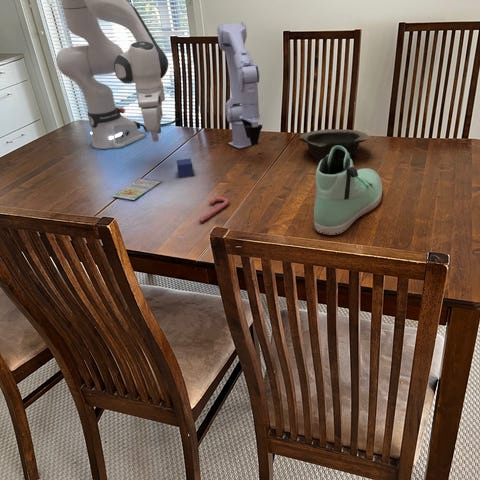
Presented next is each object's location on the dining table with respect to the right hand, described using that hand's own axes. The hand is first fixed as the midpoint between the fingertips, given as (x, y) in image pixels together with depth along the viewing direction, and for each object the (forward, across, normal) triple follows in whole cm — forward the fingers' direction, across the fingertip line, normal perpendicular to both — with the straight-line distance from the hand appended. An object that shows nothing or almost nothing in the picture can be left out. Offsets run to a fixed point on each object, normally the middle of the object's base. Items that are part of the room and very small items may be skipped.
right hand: (252, 140), depth 171 cm
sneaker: (+8, +45, +19) cm, 49 cm away
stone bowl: (+8, +4, +29) cm, 30 cm away
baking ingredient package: (+8, +11, -42) cm, 44 cm away
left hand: (-6, +1, -33) cm, 33 cm away
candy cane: (+8, +35, -20) cm, 41 cm away
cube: (+8, +4, -25) cm, 26 cm away
